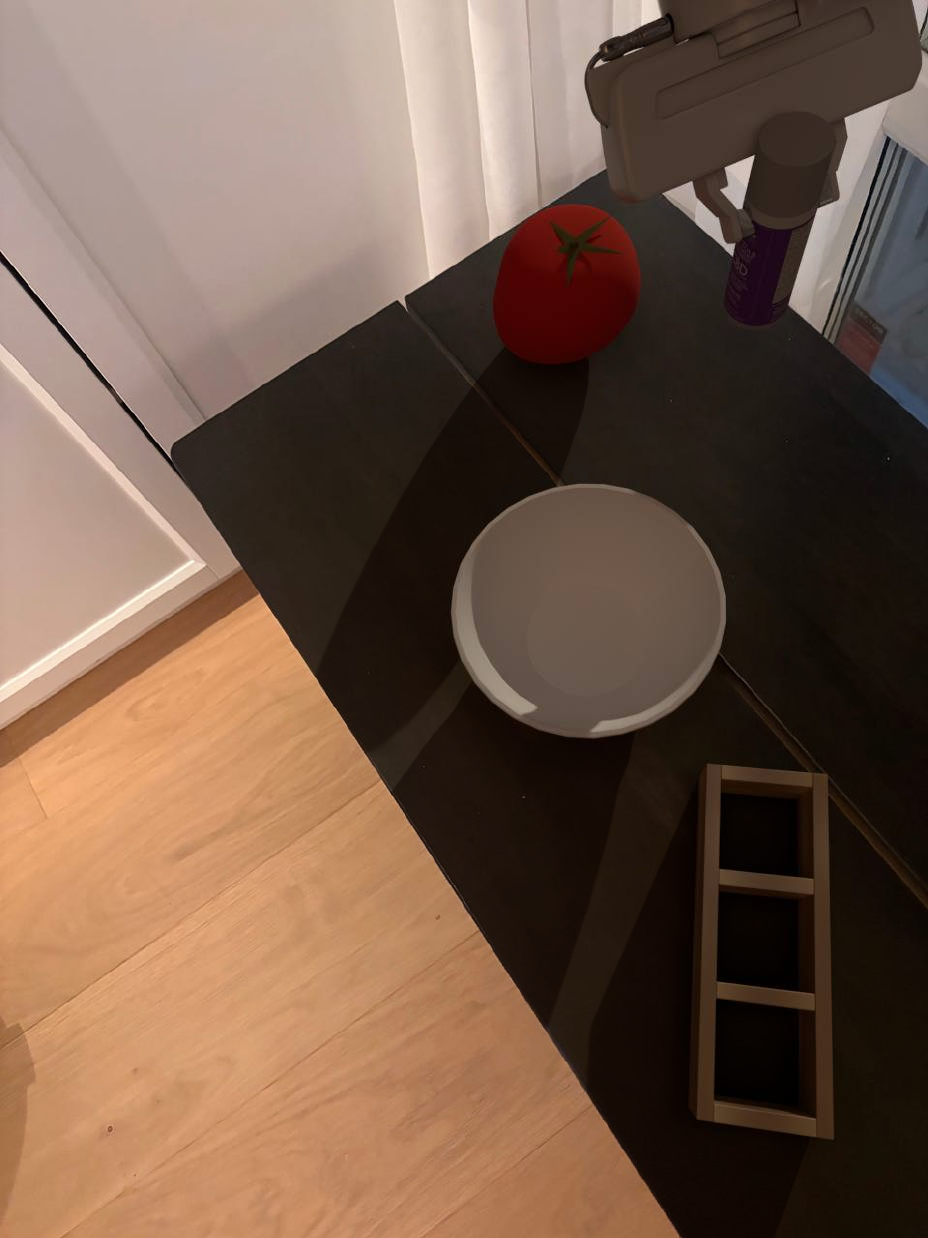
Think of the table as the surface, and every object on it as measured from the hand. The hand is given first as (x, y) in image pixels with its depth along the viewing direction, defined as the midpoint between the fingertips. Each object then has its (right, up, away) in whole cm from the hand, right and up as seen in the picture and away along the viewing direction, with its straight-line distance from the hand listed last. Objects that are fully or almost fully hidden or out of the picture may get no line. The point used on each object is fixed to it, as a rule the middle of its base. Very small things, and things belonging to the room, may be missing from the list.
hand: (782, 222), depth 60 cm
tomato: (-12, 0, +23) cm, 26 cm away
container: (+1, -3, +9) cm, 9 cm away
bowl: (-11, -28, +12) cm, 33 cm away
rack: (-1, -49, +3) cm, 49 cm away
